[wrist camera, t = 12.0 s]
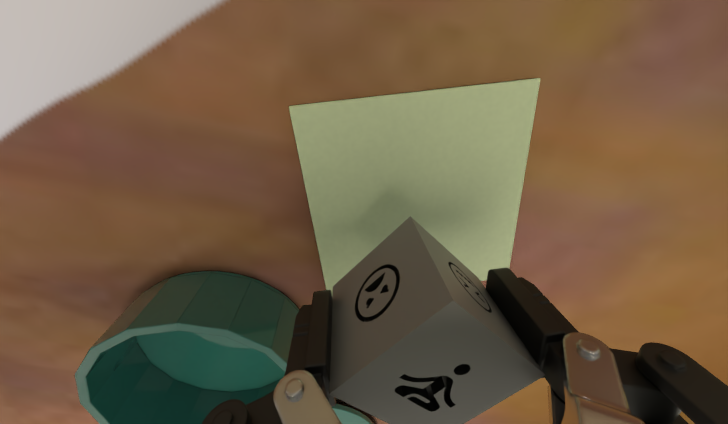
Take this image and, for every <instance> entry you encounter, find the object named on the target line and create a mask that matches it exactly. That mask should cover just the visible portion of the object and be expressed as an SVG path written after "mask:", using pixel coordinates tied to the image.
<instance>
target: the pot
mask: <svg viewBox="0 0 728 424" xmlns="http://www.w3.org/2000/svg"><path fill="white" fill-rule="evenodd" d="M298 312H299V309H298V307H297V306H296V305H295V304H294V303H293V302H292V301H291V300H290V299H289V298H288V297H286V296H285V295H284V294H283V293H281V292H280V291H278V290H277V289H275V288H273V287H271V286H270V285H268V284H265V283H263V282H261V281H259V280H256V279H253V278H250V277H247V276H243V275H239V274H235V273H228V272H220V271H200V272H191V273H185V274H180V275H177V276H174V277H170V278H168V279H166V280H163V281H161V282H159V283H157V284H156V285H154V286H153V287H151V288H150V289H148V290H147V291H145V292H143V293H142V294H141V295H140V296H139V297H138V298H137V299H136V300H135V301H134V302H133V303H132V304H131V305H130V306H129V307H128V308H127V309H126V311H125V312H124V313H123V314H122V315H121V316H120V317H119V318H118V319H117V320H116V321H115V322H114V323H113V324H112V325H111V327H110V328H109V329H108V330H107V331H106V332H105V333H104V334H103V335H102V336H101V337H100V338H99V339H98V340H97V342H96V343H95V344H94V345H93V346H92V347H91V348H90V349H89V351H88V353H87V354H86V356H85V358H84V359H83V361H82V363H81V364H80V366H79V368H78V370H77V371H76V373H75V380H76V385H77V390H78V395H79V400H80V403H81V405H82V406H83V407H84V408H85V409H86V410H87V411H88V412H89V413H90V414H91V415H92V416H93V417H94V418H95V420H96V421H97V422H98V423H99V424H202V422H203V421H204V419H205V417H206V416H207V415H208V414H209V412H210V411H211V410H212V409H214V408H215V407H216V406H217V405H219V404H220V403H222V402H224V401H227V400H231V399H237V400H240V401H242V402H243V403H244V404H245V405H247V404H249V403H251V402H253V401H255V400H257V399H259V398H261V397H264V396H265V395H267V394H269V393H270V392H272V391H273V390H274V389H275V388H276V386H277V384H278V382H279V381H280V380H281V379H282V378H283V377H284V375H285V372H286V367H287V361H288V356H289V351H290V346H291V340H292V337H293V330H294V324H295V319H296V315H297V313H298Z"/></svg>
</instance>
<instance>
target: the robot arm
mask: <svg viewBox="0 0 728 424" xmlns="http://www.w3.org/2000/svg"><path fill="white" fill-rule="evenodd" d="M486 290H487V292H488V293H489V295H490V296H491V298H492V299H493V301H494V302H495V303H496V305H497V306H498V308H499V309H500V311H501V312H502V314H503V315H504V316H505V318H506V319H507V321H508V322H509V324H510V325H511V327H512V328H513V329H514V331H515V332H516V334H517V335H518V337H519V338H520V340H521V341H522V342H523V344H524V345H525V347H526V348H527V350H528V351H529V353H530V354H531V355H532V357H533V358H534V360H535V361H536V363H537V364H538V365H539V366H540V368H541V369H542V371H543V372H544V374H545V376H543V377H541V378H544V377H545V378H546V380H547V381H548V383H549V386H548V404H549V420H550V424H688V423H687V422H686V421H685V420H684V419H683V418H682V417H681V416H680V415H679V414H680V412H681V411H682V412H683V413H685V414H686V415H687V416H688V417H689V418H690V419H691V420H692V421H693V422H694V423H695V424H728V386H727V385H725V384H724V383H723V382H722V381H720V380H719V379H718V378H716V377H715V376H714V375H712V374H711V373H710V372H709V371H707V370H706V369H705V368H703V367H702V366H701V365H699V364H698V363H697V362H696V361H694V360H693V359H692V358H690V357H689V356H687V355H686V354H684V353H683V352H681V351H679V350H677V349H675V348H673V347H670V346H667V345H664V344H660V343H646V344H644V345H642V347H641V348H640V350H639V352H638V353H637V352H630V351H624V350H617V349H611V348H608V347H607V346H606V345H605V344H604V343H603V342H601V341H600V340H598V339H597V338H595V337H593V336H590V335H587V334H584V333H579V332H578V331H577V330H576V329H575V328H574V327H573V326H572V325H571V324H570V322H569V321H568V320H567V319H566V318H565V317H564V316H563V315H562V314H561V313H560V312H559V311H558V310H557V309H556V308H555V307H554V305H553V304H552V303H550V301H549V300H548V299H547V298H546V297H545V296H543V294H542V293H541V292H540V291H539V290H538V288H537V287H536V286H535V285H534V284H532V283H530V282H529V281H527V280H525V279H524V278H522V277H521V278H517V277H516V276H515V275H514V273H513V272H512V271H511V270H510V269H509V268H507V267H505V268H498V269H490V270H489V271H488V275H487V283H486ZM332 308H333V298H332V293H331V290H324V291H317V292H314V293H313V300H312V304H311V305H303V306H302V307H301V309H300V310H299V312H298V313H297V315H296V319H295V324H294V330H293V337H292V340H291V346H290V351H289V356H288V361H287V367H286V372H285V375H284V377H283V378H282V379H281V380H280V381H279V382H278V384H277V386H276V388H275V389H274V390H273V391H272V392H270V393H269V394H267V395H265V396H264V397H261V398H259V399H257V400H255V401H253V402H251V403H249V404H247V405H245V404H244V403H243V402H242V401H240V400H237V399H231V400H227V401H224V402H222V403H220V404H219V405H217V406H216V407H215V408H214V409H212V410H211V411H210V412H209V414H208V415H207V416H206V417H205V419H204V421H203V422H202V424H342V423H341V421H340V420H339V418H338V417H337V415H336V413H335V412H334V410H333V408H332V407H331V406H336V398H335V397H333V396H331V395H329V382H330V363H331V335H332Z"/></svg>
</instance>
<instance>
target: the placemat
mask: <svg viewBox="0 0 728 424" xmlns="http://www.w3.org/2000/svg"><path fill="white" fill-rule="evenodd" d="M539 84H540V78H533V79H524V80H515V81H506V82H497V83H488V84H479V85H471V86H462V87H453V88H444V89H435V90H426V91H417V92H408V93H399V94H390V95H381V96H372V97H363V98H355V99H346V100H337V101H328V102H319V103H310V104H301V105H292V106H289V111H290V116H291V121H292V126H293V131H294V135H295V140H296V145H297V150H298V155H299V160H300V165H301V169H302V174H303V179H304V184H305V189H306V194H307V199H308V203H309V208H310V213H311V218H312V223H313V228H314V233H315V237H316V242H317V247H318V252H319V257H320V262H321V266H322V271H323V276H324V281H325V286H326V290H331V293H332V296H333V286H334V285H335V284H336V283H337V282H338V281H339V280H340V279H341V278H343V277H344V276H345V275H346V274H347V273H348V272H349V271H350V270H351V269H352V268H354V267H355V266H356V265H357V264H358V263H359V262H360V261H361V260H362V259H364V258H365V257H366V256H367V255H368V254H369V253H370V252H371V251H372V250H373V249H375V248H376V247H377V246H378V245H379V244H380V243H381V242H382V241H383V240H384V239H386V238H387V237H388V236H389V235H390V234H391V233H392V232H393V231H394V230H396V229H397V228H398V227H399V226H400V225H401V224H402V223H403V222H404V221H405V220H407V219H408V218H409V217H410V216H411V217H412V218H413V219H414V220H415V221H416V222H417V223H418V224H420V225H421V226H422V227H423V228H424V229H425V230H426V231H427V232H428V233H430V234H431V235H432V236H433V237H434V238H435V239H436V240H437V241H438V242H439V243H441V244H442V245H443V246H444V247H445V248H446V249H447V250H448V251H449V252H450V253H452V254H453V255H454V256H455V257H456V258H457V259H458V260H459V261H460V262H462V263H463V264H464V265H465V266H466V267H467V268H468V269H469V270H470V271H471V272H473V273H474V274H475V275H476V276H477V277H478V278H479V280H480V281H484V280H487V275H488V271H489V270H490V269H498V268H505V267H507V268H509V266H510V260H511V254H512V248H513V242H514V236H515V230H516V224H517V218H518V212H519V206H520V200H521V194H522V187H523V181H524V175H525V169H526V163H527V157H528V151H529V145H530V139H531V133H532V127H533V121H534V115H535V109H536V102H537V96H538V90H539Z"/></svg>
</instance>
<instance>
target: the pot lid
mask: <svg viewBox="0 0 728 424" xmlns="http://www.w3.org/2000/svg"><path fill="white" fill-rule="evenodd" d="M331 407H332V408H333V410H334V412H335V413H336V415H337V417H338V418H339V420H340V421H341V423H342V424H374V423H373V422H372V421H371V419H369V418H368V417H367V416H366V415H364V414H363V413H361V412H359V411H357V410H355V409H353V408H350V407H347V406H344V405H340V404H336V406H331Z"/></svg>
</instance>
